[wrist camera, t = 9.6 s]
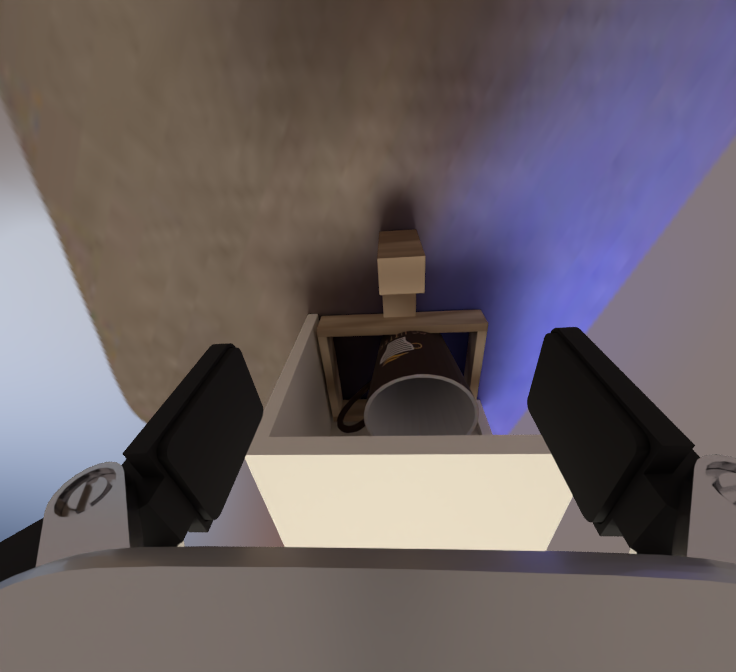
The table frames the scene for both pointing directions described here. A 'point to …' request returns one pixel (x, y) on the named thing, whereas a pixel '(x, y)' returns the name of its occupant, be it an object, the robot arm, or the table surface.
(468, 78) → the table surface
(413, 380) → the coffee mug
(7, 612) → the robot arm
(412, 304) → the wooden drawer
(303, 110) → the table surface
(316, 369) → the cream open box
